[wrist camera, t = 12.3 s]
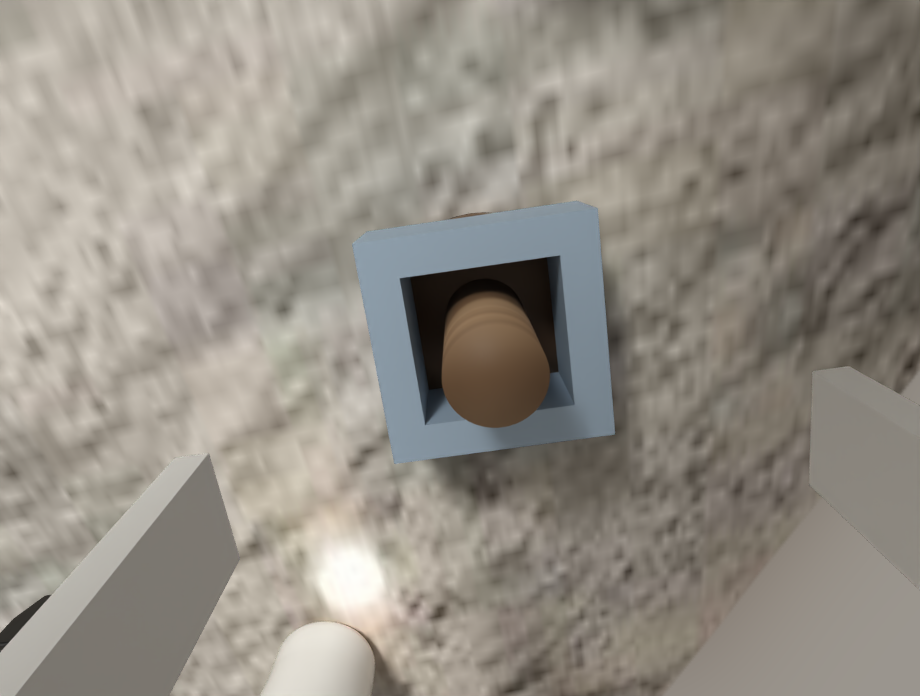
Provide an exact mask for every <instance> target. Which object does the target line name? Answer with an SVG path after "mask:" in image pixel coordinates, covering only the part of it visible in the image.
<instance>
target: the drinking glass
mask: <svg viewBox="0 0 920 696" xmlns="http://www.w3.org/2000/svg"><path fill="white" fill-rule="evenodd" d="M374 675H375V658H374V654H373V651H372V649H371V647H370V645H369V643H368V642H367V641H366V639H365V638H364V637H363V636H362V635H361V634H360V633H358V632H357V631H356V630H354V629H352V628H351V627H349V626H346V625H344V624H341V623H337V622H330V621H319V622H313V623H309V624H306V625H304V626H301V627H299V628H298V629H296V630H295V631H293V632H292V633H291V634H290V635H289V636H288V637H287V638H286V639H285V640H284V641H283V643H282V644H281V646H280V648H279V650H278V652H277V655H276V658H275V661H274V663H273V666H272V669H271V672H270V674H269V676H268V679H267V681H266V683H265V685H264V687H263V689H262V692H261V694H260V696H372V688H373V682H374Z"/></svg>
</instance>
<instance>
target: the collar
mask: <svg viewBox="0 0 920 696" xmlns="http://www.w3.org/2000/svg"><path fill="white" fill-rule="evenodd" d="M352 246H353V251H354V256H355V261H356V267H357V272H358V277H359V282H360V287H361V293H362V298H363V303H364V308H365V313H366V319H367V324H368V329H369V334H370V339H371V345H372V350H373V355H374V360H375V365H376V371H377V376H378V381H379V386H380V391H381V397H382V402H383V407H384V412H385V417H386V423H387V428H388V433H389V438H390V443H391V449H392V454H393V459H394V464H397V463H404V462H412V461H419V460H427V459H434V458H442V457H450V456H457V455H465V454H472V453H480V452H487V451H495V450H502V449H510V448H517V447H525V446H532V445H540V444H547V443H555V442H562V441H570V440H577V439H585V438H592V437H600V436H607V435H615V426H614V413H613V400H612V388H611V375H610V362H609V349H608V336H607V323H606V310H605V297H604V284H603V271H602V258H601V245H600V232H599V219H598V208H596V207H593V206H590V205H587V204H584V203H582V202H579V201H573V202H566V203H559V204H552V205H545V206H538V207H532V208H525V209H518V210H511V211H504V212H497V213H491V214H484V215H477V216H470V217H463V218H456V219H449V220H443V221H436V222H429V223H422V224H415V225H408V226H402V227H395V228H388V229H381V230H374V231H367V232H366V233H365V234H363V235H362V236H361V237H360V238H359V239H357V240H356V241H355V242H354V243H353V244H352ZM545 257H547V263H548V273H549V282H550V292H551V302H552V312H553V321H554V331H555V341H556V351H557V360H558V370H559V372H556V373H550V382H549V387H548V391H547V394H546V396H545V398H544V400H543V402H542V403H541V405H540V406H539V407H538V409H537V410H536V411H535V412H534V413H533V414H531V415H530V416H529V417H528V418H526V419H524V420H523V421H521V422H519V423H517V424H514V425H511V426H507V427H500V428H488V427H483V426H479V425H476V424H473V423H471V422H469V421H467V420H465V419H464V418H462V417H461V416H460V415H459V414H457V413H456V412H455V410H454V409H453V408H452V407H451V406H450V404H449V402H448V401H447V399H446V397H445V394H444V391H443V388H439V389H431V390H429V387H428V381H427V375H426V369H425V363H424V357H423V351H422V345H421V339H420V333H419V327H418V321H417V315H416V309H415V303H414V297H413V291H412V285H411V280H410V277H412V276H419V275H426V274H433V273H440V272H447V271H454V270H461V269H468V268H475V267H482V266H489V265H496V264H503V263H510V262H517V261H524V260H531V259H538V258H545Z"/></svg>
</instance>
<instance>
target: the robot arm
mask: <svg viewBox="0 0 920 696" xmlns="http://www.w3.org/2000/svg"><path fill="white" fill-rule="evenodd" d="M809 485H810V486H811V487H812V488H813V489H814V490H815V491H816V492H817V493H818V494H819V495H820V496H821V497H822V498H823V499H824V500H825V501H826V502H828V503H829V504H830V505H831V506H832V507H833V508H834V509H835V510H836V511H837V512H838V513H839V514H840V515H841V516H842V517H843V518H844V519H845V520H846V521H848V522H849V523H850V524H851V525H852V526H853V527H854V528H855V529H856V530H857V531H858V532H859V533H860V534H861V535H862V536H863V537H864V538H865V539H866V540H867V541H869V542H870V543H871V544H872V545H873V546H874V547H875V548H876V549H877V550H878V551H879V552H880V553H881V554H882V555H883V556H884V557H886V558H887V560H889V561H890V562H891V563H892V564H893V565H894V566H895V567H896V568H897V569H898V570H899V571H900V572H901V573H902V574H903V575H904V576H905V577H906V578H908V579H909V580H910V581H911V582H912V583H913V584H914V585H915V586H916V587H917V588H918V589H919V590H920V405H918V404H916V403H915V402H913V401H911V400H909V399H907V398H906V397H904V396H902V395H900V394H898V393H897V392H895V391H893V390H891V389H889V388H888V387H886V386H884V385H882V384H880V383H879V382H877V381H875V380H873V379H871V378H870V377H868V376H866V375H864V374H862V373H861V372H859V371H857V370H855V369H853V368H852V367H850V366H846V367H839V368H832V369H824V370H817V371H813V373H812V405H811V436H810V468H809ZM239 560H240V556H239V553H238V550H237V546H236V543H235V540H234V536H233V533H232V529H231V526H230V523H229V519H228V516H227V513H226V509H225V506H224V502H223V499H222V496H221V492H220V489H219V486H218V482H217V479H216V475H215V472H214V469H213V465H212V462H211V459H210V455H209V453H205V454H198V455H190V456H183V457H176V458H174V459H173V460H172V461H171V462H170V464H169V465H168V466H167V467H166V468H165V469H164V470H163V471H162V472H161V474H160V475H159V476H158V477H157V478H156V479H155V480H154V481H153V483H152V484H151V485H150V486H149V487H148V488H147V489H146V490H145V491H144V493H143V494H142V495H141V496H140V497H139V498H138V499H137V500H136V501H135V503H134V504H133V505H132V506H131V507H130V508H129V509H128V510H127V511H126V513H125V514H124V515H123V516H122V517H121V518H120V519H119V520H118V522H117V523H116V524H115V525H114V526H113V527H112V528H111V529H110V530H109V532H108V533H107V534H106V535H105V536H104V537H103V538H102V539H101V540H100V542H99V543H98V544H97V545H96V546H95V547H94V548H93V549H92V551H91V552H90V553H89V554H88V555H87V556H86V557H85V558H84V559H83V561H82V562H81V563H80V564H79V565H78V566H77V567H76V568H75V569H74V571H73V572H72V573H71V574H70V575H69V576H68V577H67V578H66V579H65V581H64V582H63V583H62V584H61V585H60V586H59V587H58V588H57V590H56V591H55V592H54V593H53V594H52V595H47V596H44V597H43V598H41V599H40V600H39V601H37V602H36V603H34V604H33V605H32V606H30V607H29V608H28V609H26V610H25V611H23V612H22V613H21V614H19V615H18V616H17V617H15V618H14V619H13V620H12V621H11V622H10V623H9V624H8V625H7V626H6V627H5V628H4V630H3V631H2V632H1V633H0V696H169V695H170V693H171V691H172V689H173V687H174V685H175V683H176V681H177V679H178V677H179V675H180V673H181V672H182V670H183V668H184V666H185V664H186V662H187V660H188V658H189V656H190V654H191V652H192V650H193V648H194V646H195V645H196V643H197V641H198V639H199V637H200V635H201V633H202V631H203V629H204V627H205V625H206V623H207V621H208V619H209V618H210V616H211V614H212V612H213V610H214V608H215V606H216V604H217V602H218V600H219V598H220V596H221V594H222V592H223V591H224V589H225V587H226V585H227V583H228V581H229V579H230V577H231V575H232V573H233V571H234V569H235V567H236V565H237V564H238V562H239Z"/></svg>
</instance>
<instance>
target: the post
mask: <svg viewBox="0 0 920 696" xmlns="http://www.w3.org/2000/svg"><path fill="white" fill-rule="evenodd" d="M484 214H491V213H485V212H483V213H470V214H466V215H461V216H457V217H454V218H451V219H456V218H463V217H470V216H477V215H484ZM448 220H449V219H448ZM410 280H411V285H412V291H413V297H414V303H415V309H416V315H417V321H418V327H419V333H420V339H421V345H422V351H423V357H424V363H425V369H426V375H427V381H428V387H429V390H431V389H439V388H443V391H444V394H445V397H446V399H447V401H448V402H449V404H450V406H451V407H452V408H453V409H454V410H455V412H456V413H457V414H459V415H460V416H461V417H462V418H464V419H465V420H467V421H469V422H471V423H473V424H476V425H479V426H483V427H488V428H500V427H507V426H511V425H514V424H517V423H519V422H521V421H523V420H524V419H526V418H528V417H529V416H530V415H531V414H533V413H534V412H535V411H536V410H537V409H538V407H539V406H540V405H541V403H542V402H543V400H544V398H545V396H546V394H547V391H548V387H549V382H550V373H556V372H559V370H558V360H557V351H556V341H555V331H554V321H553V312H552V302H551V292H550V282H549V273H548V263H547V257H545V258H538V259H531V260H524V261H517V262H510V263H503V264H496V265H489V266H482V267H475V268H468V269H461V270H454V271H447V272H440V273H433V274H426V275H419V276H412V277H410Z"/></svg>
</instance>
